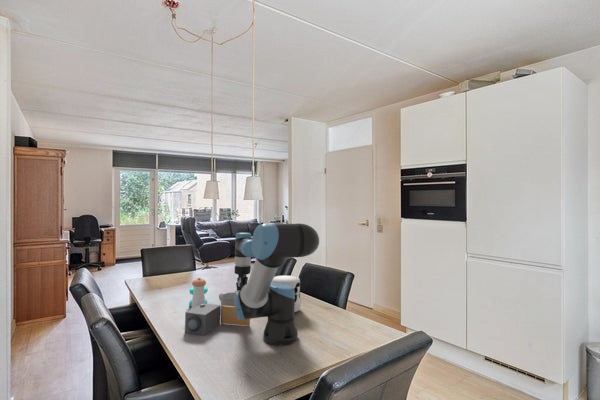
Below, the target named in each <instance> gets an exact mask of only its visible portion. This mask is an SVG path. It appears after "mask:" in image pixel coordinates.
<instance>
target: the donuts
mask: <svg viewBox="0 0 600 400" xmlns="http://www.w3.org/2000/svg"><path fill="white" fill-rule="evenodd" d="M193 287H194V286H193ZM193 287H191V288H190V289H189V293H190V295H192V296H193ZM207 293H208V287H206V286H204V295H206V294H207ZM205 303H206V304H208V300H207V299H206V298H205ZM188 305H189V306H190V307H191V308H192V299H191V300H189V303H188Z"/></svg>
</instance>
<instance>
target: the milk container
mask: <svg viewBox="0 0 600 400" xmlns="http://www.w3.org/2000/svg"><path fill="white" fill-rule="evenodd" d="M272 283H279V284H285V285H289V286H291V287H293V288H294V291H295V308H294V314H296V313H298V312H299V311H300V310H301V307H302V298H301V294H300V293H301V291H300V289H301V279H300V278H299V277H298V276H295V275H294V276H293V275H277V276H276V275H275V276H274V278H273V280H272V282H271V284H272Z"/></svg>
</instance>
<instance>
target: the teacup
mask: <svg viewBox="0 0 600 400" xmlns="http://www.w3.org/2000/svg"><path fill="white" fill-rule="evenodd" d="M234 293H235V291H234V292H225V293H220V294H218V298H219V301H220V305H221V306H222V305H223V306H235V304H234Z"/></svg>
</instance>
